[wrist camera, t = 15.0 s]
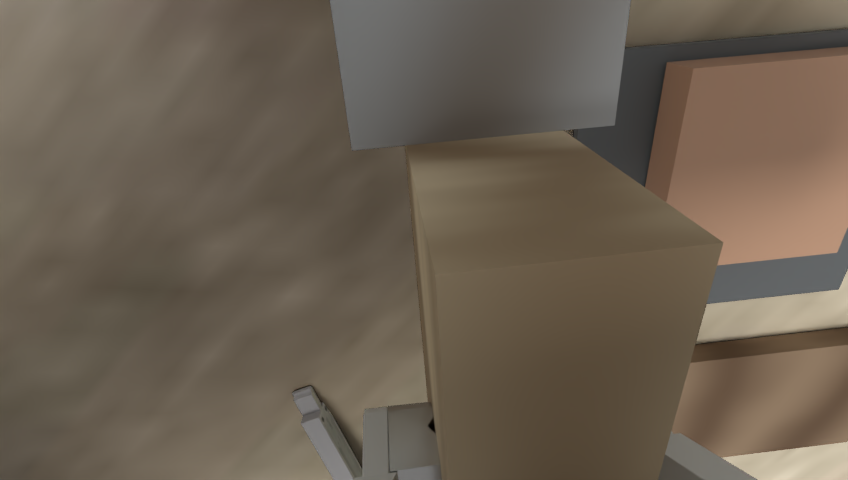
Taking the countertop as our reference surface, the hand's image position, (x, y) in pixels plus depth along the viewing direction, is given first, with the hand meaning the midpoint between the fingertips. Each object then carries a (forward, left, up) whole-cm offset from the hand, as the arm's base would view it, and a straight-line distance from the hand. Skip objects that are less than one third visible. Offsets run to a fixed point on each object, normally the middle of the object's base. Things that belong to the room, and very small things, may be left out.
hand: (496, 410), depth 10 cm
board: (+13, -13, -10) cm, 21 cm away
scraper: (0, +2, -2) cm, 3 cm away
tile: (+12, -2, -9) cm, 15 cm away
